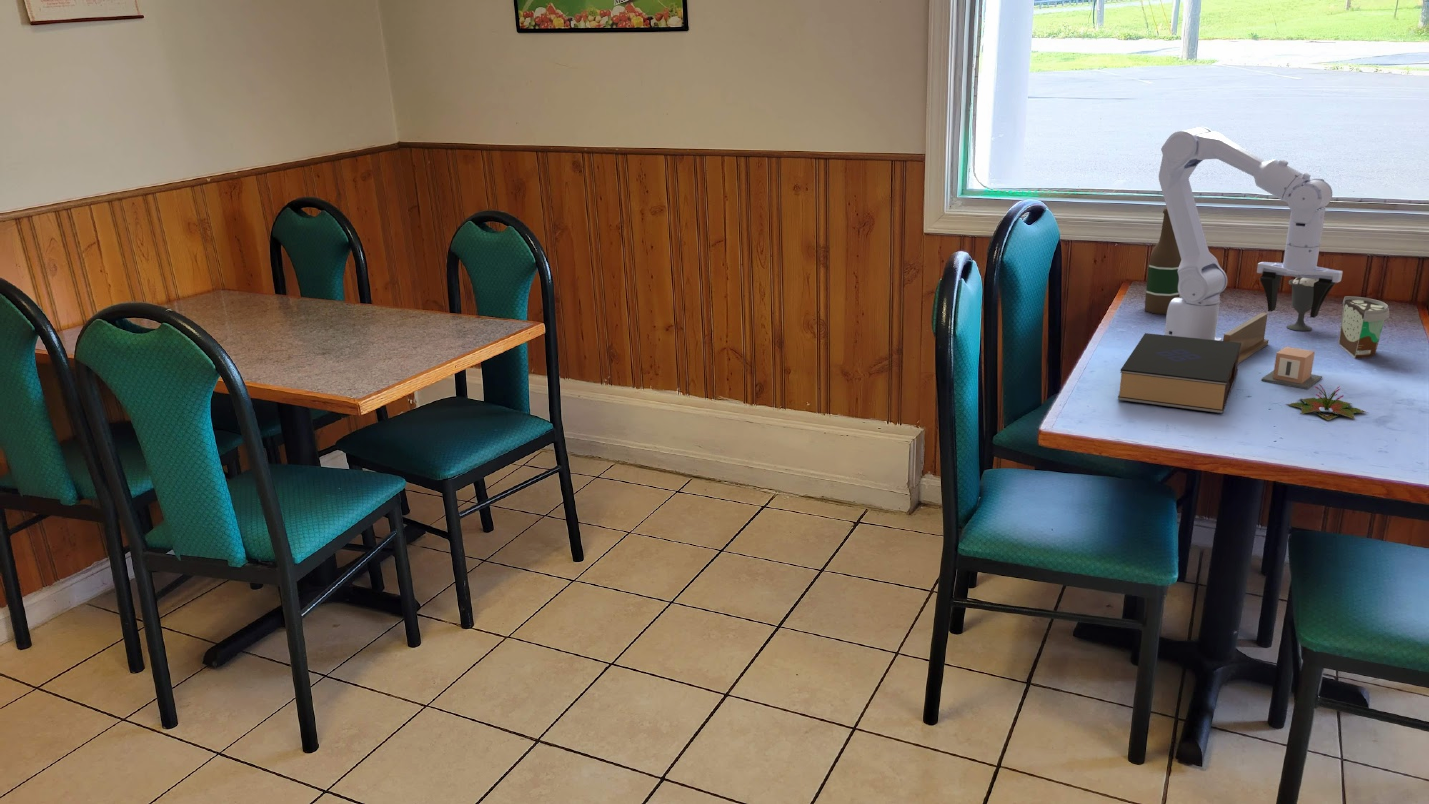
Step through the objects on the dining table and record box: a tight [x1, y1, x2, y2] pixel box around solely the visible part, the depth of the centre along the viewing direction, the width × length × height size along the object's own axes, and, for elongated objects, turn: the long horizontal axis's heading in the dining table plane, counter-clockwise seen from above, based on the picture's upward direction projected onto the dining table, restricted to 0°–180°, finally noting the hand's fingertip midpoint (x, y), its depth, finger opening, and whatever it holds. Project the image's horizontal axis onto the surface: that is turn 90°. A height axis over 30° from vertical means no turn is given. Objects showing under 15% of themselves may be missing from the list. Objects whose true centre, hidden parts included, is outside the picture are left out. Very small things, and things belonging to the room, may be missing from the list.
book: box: [1117, 332, 1241, 414], centre depth 194 cm, size 17×25×7 cm
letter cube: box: [1273, 346, 1316, 384], centre depth 195 cm, size 5×5×5 cm
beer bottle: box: [1144, 207, 1181, 315], centre depth 240 cm, size 8×8×24 cm
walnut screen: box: [1222, 312, 1269, 364], centre depth 210 cm, size 3×20×6 cm, turn 135°
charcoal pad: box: [1260, 369, 1323, 390], centre depth 196 cm, size 8×8×1 cm
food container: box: [1337, 295, 1390, 359], centre depth 208 cm, size 12×6×10 cm, turn 168°
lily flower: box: [1285, 384, 1369, 421], centre depth 181 cm, size 12×12×5 cm
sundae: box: [1286, 277, 1319, 332], centre depth 224 cm, size 7×7×15 cm
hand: (1292, 313), depth 204 cm, fingers open, 7 cm apart
